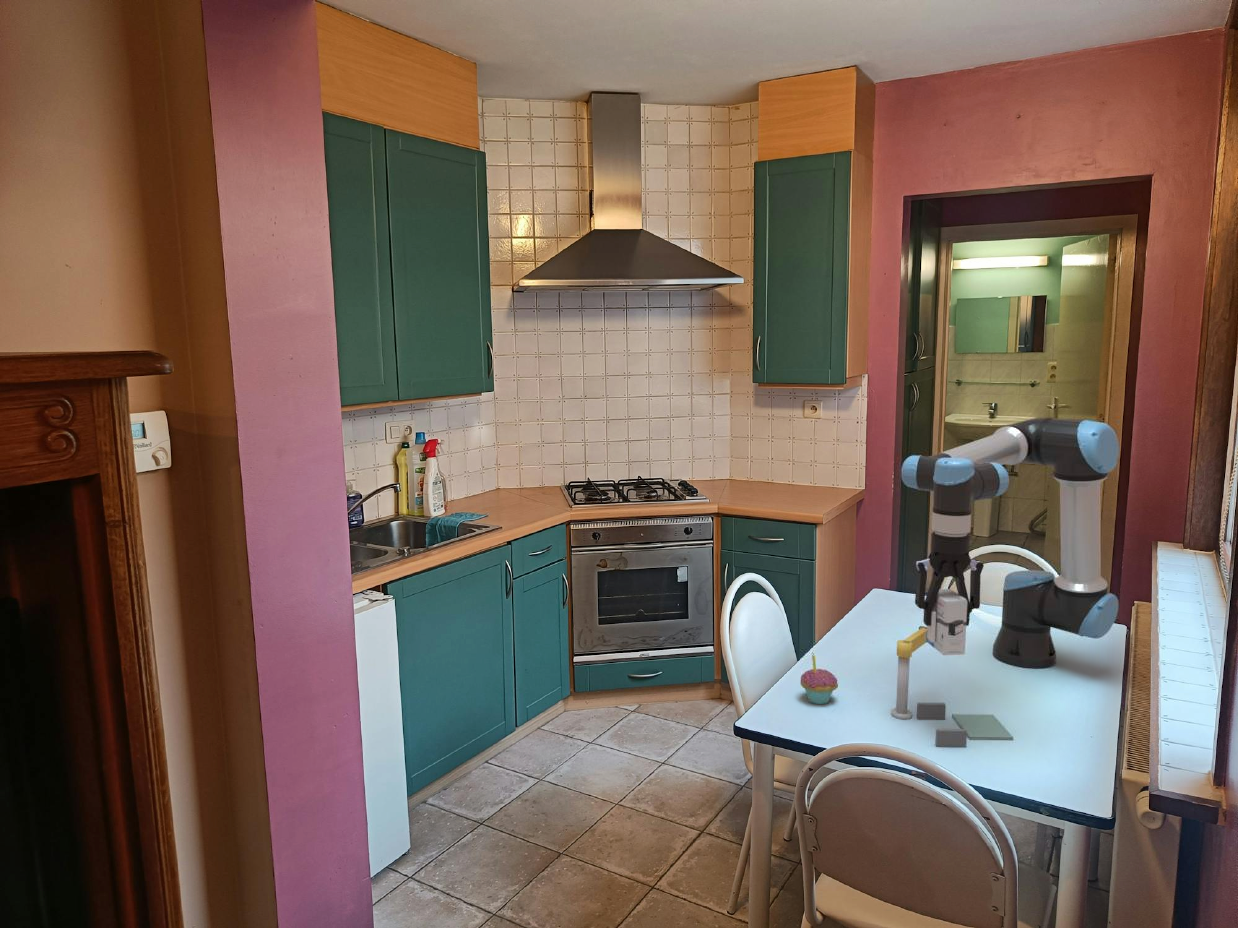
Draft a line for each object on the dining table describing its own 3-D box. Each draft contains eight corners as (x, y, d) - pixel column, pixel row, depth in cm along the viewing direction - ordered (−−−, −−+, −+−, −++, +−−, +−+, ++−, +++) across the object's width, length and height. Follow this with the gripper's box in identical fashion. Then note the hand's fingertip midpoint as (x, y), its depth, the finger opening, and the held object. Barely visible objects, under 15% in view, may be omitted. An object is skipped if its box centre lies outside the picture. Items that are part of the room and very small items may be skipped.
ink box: (925, 641, 187) (927, 588, 186) (947, 640, 188) (949, 588, 186) (942, 655, 179) (945, 600, 177) (965, 655, 179) (968, 600, 178)
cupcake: (815, 710, 197) (817, 659, 195) (792, 696, 205) (793, 647, 203) (844, 702, 201) (846, 653, 199) (820, 689, 209) (821, 641, 207)
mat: (992, 717, 193) (992, 714, 193) (1013, 739, 182) (1013, 737, 182) (951, 716, 193) (952, 714, 193) (969, 739, 183) (969, 736, 182)
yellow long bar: (908, 659, 190) (908, 646, 190) (894, 655, 192) (894, 642, 192) (932, 640, 201) (933, 628, 201) (919, 637, 203) (919, 625, 203)
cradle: (938, 711, 196) (941, 653, 194) (966, 747, 179) (969, 684, 177) (888, 710, 197) (891, 653, 195) (911, 746, 180) (914, 684, 178)
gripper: (988, 528, 183) (982, 634, 187) (900, 528, 184) (896, 633, 187) (1002, 536, 176) (996, 646, 179) (911, 536, 176) (906, 645, 180)
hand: (945, 639), depth 183 cm, fingers closed on ink box, 5 cm apart
